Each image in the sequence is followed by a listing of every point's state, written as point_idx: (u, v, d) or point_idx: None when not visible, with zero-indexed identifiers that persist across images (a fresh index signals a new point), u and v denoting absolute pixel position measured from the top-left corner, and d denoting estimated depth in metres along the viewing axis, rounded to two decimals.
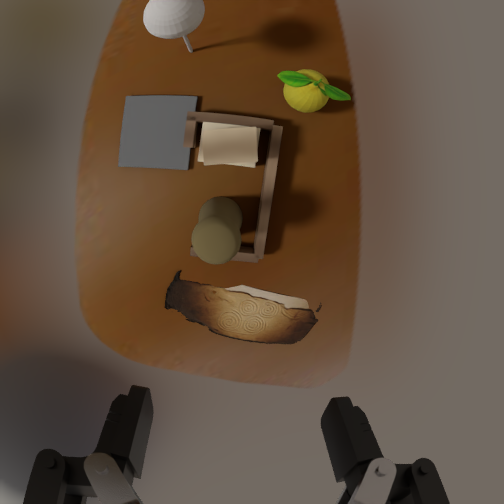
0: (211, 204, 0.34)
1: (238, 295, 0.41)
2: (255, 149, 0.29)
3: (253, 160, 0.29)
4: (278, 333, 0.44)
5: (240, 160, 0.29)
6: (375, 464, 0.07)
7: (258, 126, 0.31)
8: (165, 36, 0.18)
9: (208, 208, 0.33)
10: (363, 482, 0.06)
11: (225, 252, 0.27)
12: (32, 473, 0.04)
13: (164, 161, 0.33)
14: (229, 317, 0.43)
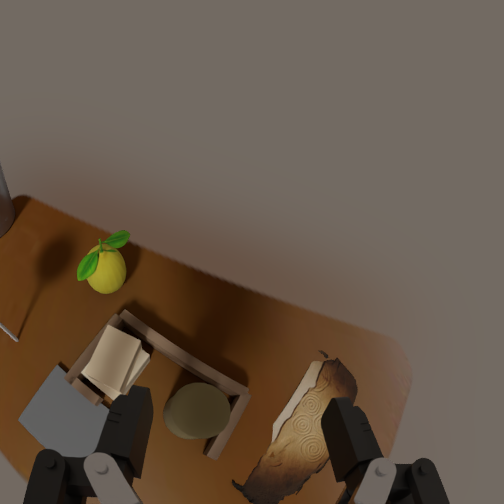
0: (166, 413, 0.24)
1: (284, 431, 0.29)
2: (128, 336, 0.25)
3: (137, 344, 0.25)
4: None
5: (132, 355, 0.24)
6: (375, 464, 0.07)
7: None
8: None
9: (168, 415, 0.23)
10: (363, 482, 0.06)
11: (216, 403, 0.20)
12: (32, 473, 0.04)
13: None
14: (308, 447, 0.28)
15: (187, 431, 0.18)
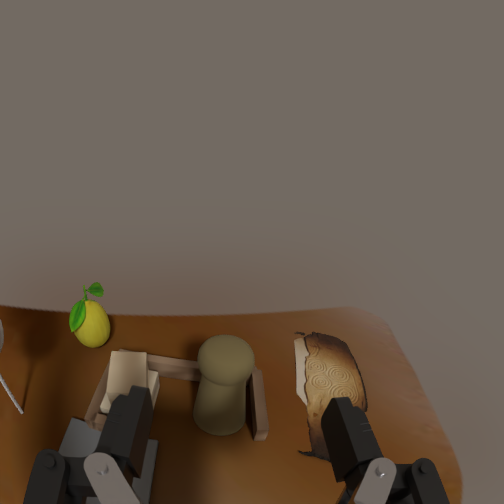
0: (198, 409, 0.24)
1: (309, 392, 0.32)
2: (134, 353, 0.26)
3: (144, 355, 0.26)
4: (339, 354, 0.39)
5: (144, 364, 0.25)
6: (375, 464, 0.07)
7: None
8: None
9: (201, 404, 0.24)
10: (363, 482, 0.06)
11: (235, 340, 0.24)
12: (32, 473, 0.04)
13: (144, 464, 0.18)
14: (341, 395, 0.31)
15: (225, 370, 0.21)
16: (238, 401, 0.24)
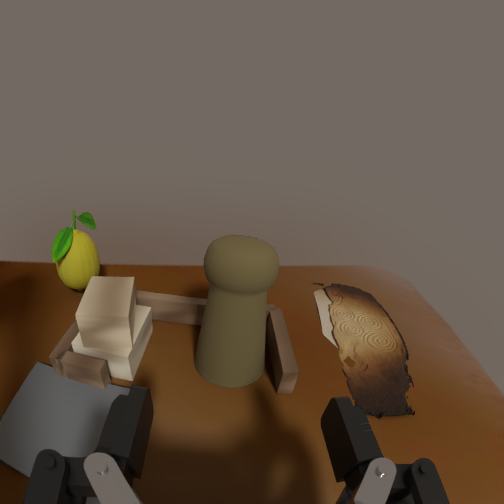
0: (202, 347, 0.20)
1: (339, 338, 0.27)
2: (118, 278, 0.22)
3: (132, 279, 0.22)
4: (365, 302, 0.34)
5: (130, 287, 0.21)
6: (375, 464, 0.07)
7: None
8: None
9: (206, 337, 0.19)
10: (363, 482, 0.06)
11: (253, 237, 0.20)
12: (32, 473, 0.04)
13: None
14: (376, 342, 0.26)
15: (242, 264, 0.17)
16: (258, 328, 0.19)
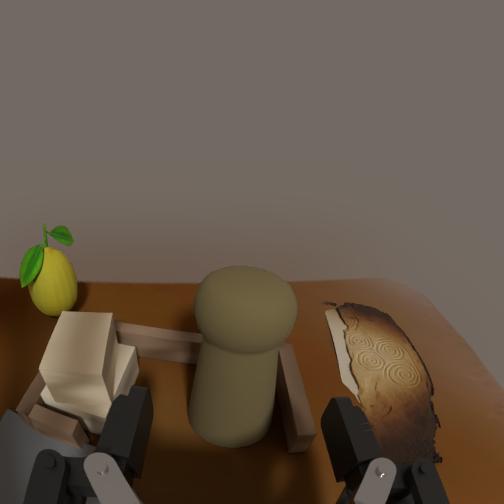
0: (195, 405, 0.15)
1: (358, 374, 0.22)
2: (94, 314, 0.16)
3: (109, 316, 0.16)
4: (384, 326, 0.29)
5: (106, 329, 0.15)
6: (375, 464, 0.07)
7: None
8: None
9: (200, 396, 0.14)
10: (363, 482, 0.06)
11: (261, 271, 0.14)
12: (32, 473, 0.04)
13: None
14: (399, 376, 0.21)
15: (247, 317, 0.11)
16: (267, 387, 0.14)
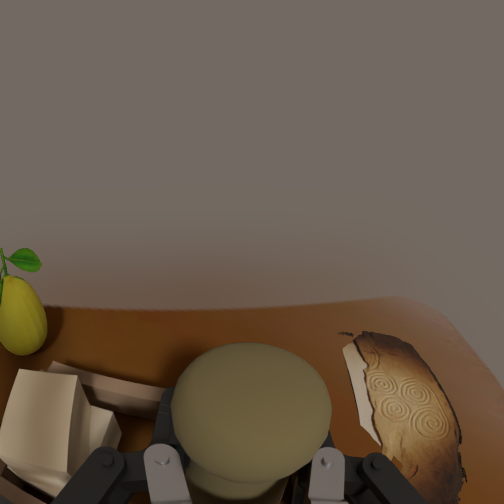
0: None
1: (382, 429, 0.16)
2: (55, 376, 0.11)
3: (73, 381, 0.11)
4: (408, 361, 0.23)
5: (69, 401, 0.09)
6: (321, 453, 0.07)
7: None
8: None
9: (191, 493, 0.08)
10: (312, 476, 0.06)
11: (277, 357, 0.08)
12: (82, 466, 0.05)
13: None
14: (426, 426, 0.15)
15: (257, 458, 0.05)
16: (279, 491, 0.08)
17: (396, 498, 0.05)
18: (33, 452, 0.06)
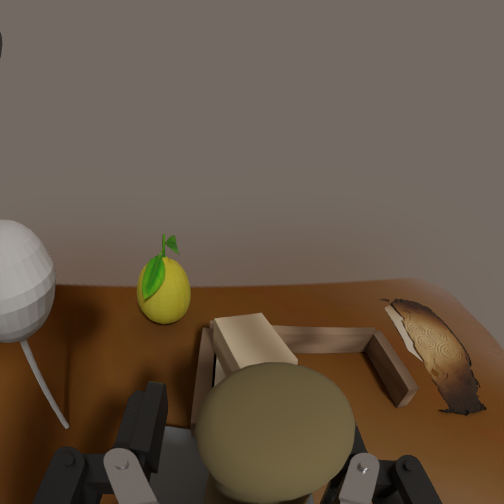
0: None
1: (421, 352, 0.27)
2: (246, 316, 0.22)
3: (262, 316, 0.22)
4: (428, 317, 0.34)
5: (269, 326, 0.21)
6: (357, 459, 0.07)
7: None
8: (43, 288, 0.09)
9: None
10: (346, 479, 0.06)
11: (299, 377, 0.08)
12: (48, 469, 0.04)
13: None
14: (447, 352, 0.26)
15: (285, 482, 0.05)
16: (305, 498, 0.08)
17: (419, 501, 0.05)
18: (271, 358, 0.17)
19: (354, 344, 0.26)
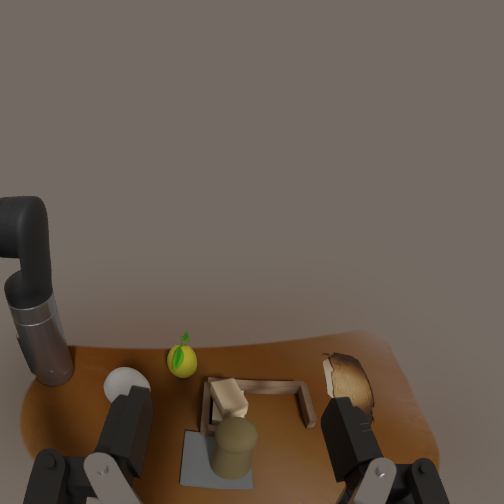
0: (214, 463, 0.28)
1: (336, 395, 0.46)
2: (226, 380, 0.41)
3: (233, 380, 0.42)
4: (354, 368, 0.54)
5: (236, 385, 0.41)
6: (375, 464, 0.07)
7: None
8: None
9: (217, 461, 0.28)
10: (363, 482, 0.06)
11: (243, 422, 0.28)
12: (32, 473, 0.04)
13: None
14: (356, 397, 0.46)
15: (236, 447, 0.25)
16: (246, 459, 0.27)
17: None
18: (236, 403, 0.37)
19: (289, 390, 0.46)
